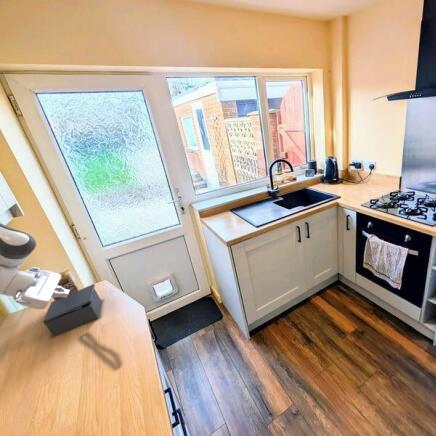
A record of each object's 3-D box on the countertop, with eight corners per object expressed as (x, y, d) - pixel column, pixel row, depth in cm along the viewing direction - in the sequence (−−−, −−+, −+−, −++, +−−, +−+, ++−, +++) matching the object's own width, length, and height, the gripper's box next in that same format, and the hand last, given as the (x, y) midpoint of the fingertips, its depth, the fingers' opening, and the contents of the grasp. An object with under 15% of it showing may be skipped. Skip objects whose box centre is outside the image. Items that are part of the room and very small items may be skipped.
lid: (95, 285, 108) (94, 283, 108) (91, 301, 98) (90, 300, 98) (52, 303, 102) (51, 302, 102) (44, 323, 92) (42, 321, 91)
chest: (102, 302, 112) (94, 288, 108) (99, 319, 101) (90, 305, 98) (61, 317, 105) (52, 303, 102) (54, 337, 95) (44, 323, 92)
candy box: (59, 309, 110) (41, 282, 103) (60, 304, 113) (43, 277, 107) (84, 299, 114) (68, 273, 108) (84, 295, 118) (69, 269, 111)
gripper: (16, 292, 81) (66, 302, 89) (36, 264, 98) (77, 275, 106) (5, 309, 81) (57, 317, 89) (27, 278, 98) (69, 287, 106)
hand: (68, 294), depth 98 cm, fingers closed
